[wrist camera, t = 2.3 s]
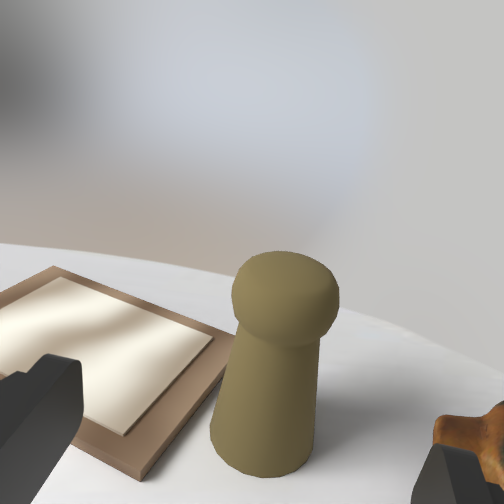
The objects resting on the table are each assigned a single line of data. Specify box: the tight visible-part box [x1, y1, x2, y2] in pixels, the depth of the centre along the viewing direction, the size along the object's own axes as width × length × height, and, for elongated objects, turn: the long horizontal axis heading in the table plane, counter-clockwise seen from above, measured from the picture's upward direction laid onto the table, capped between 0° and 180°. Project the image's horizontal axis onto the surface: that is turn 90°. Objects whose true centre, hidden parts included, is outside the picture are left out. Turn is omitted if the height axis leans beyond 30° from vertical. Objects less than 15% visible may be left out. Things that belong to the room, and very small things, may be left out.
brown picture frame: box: [0, 266, 235, 482], centre depth 30 cm, size 18×12×1 cm, turn 65°
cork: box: [210, 251, 339, 478], centre depth 23 cm, size 6×6×11 cm
